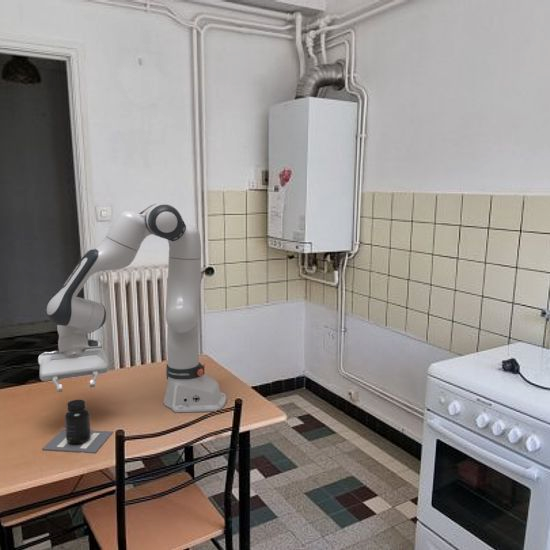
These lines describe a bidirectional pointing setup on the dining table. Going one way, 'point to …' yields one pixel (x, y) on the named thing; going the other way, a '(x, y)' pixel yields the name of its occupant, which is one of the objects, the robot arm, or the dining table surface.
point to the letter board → (88, 447)
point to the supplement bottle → (77, 423)
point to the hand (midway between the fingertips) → (76, 388)
